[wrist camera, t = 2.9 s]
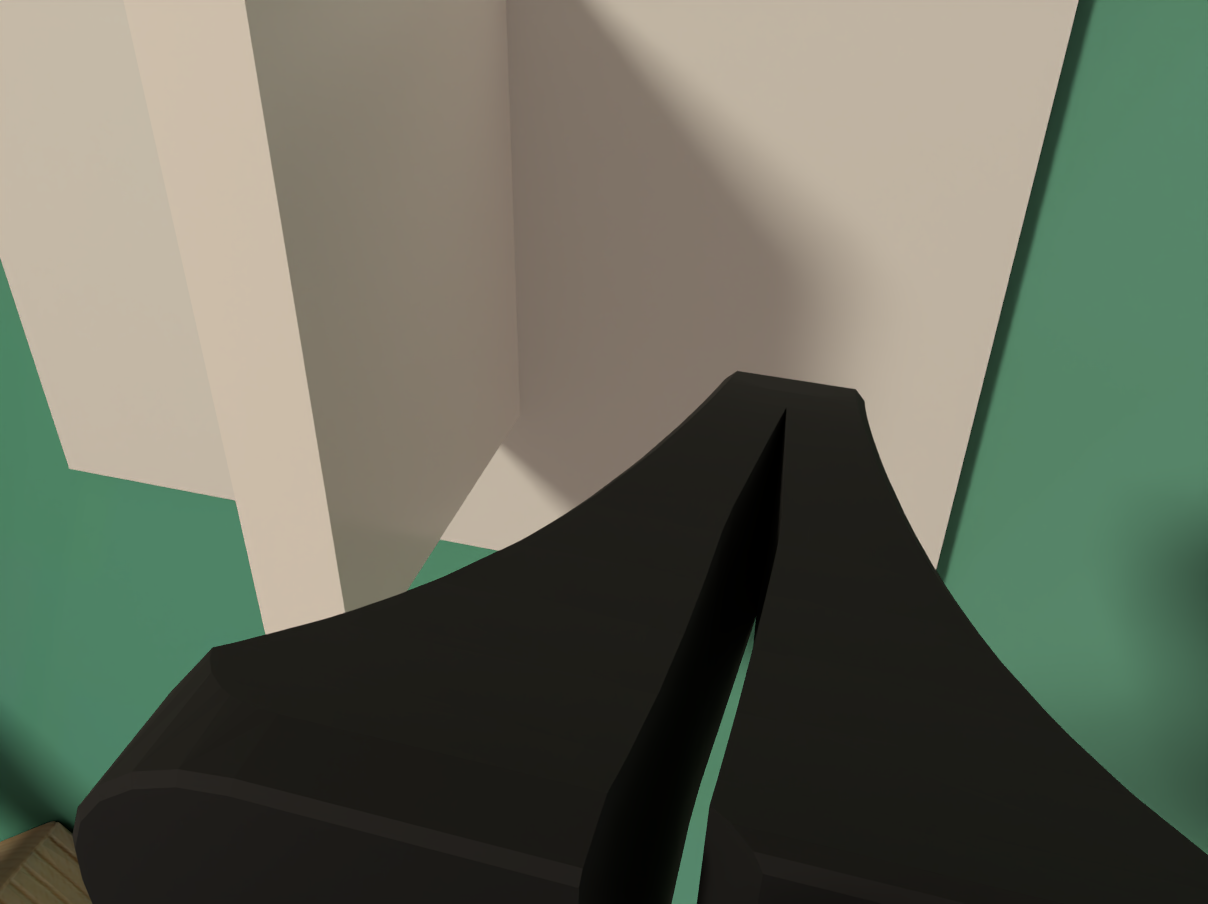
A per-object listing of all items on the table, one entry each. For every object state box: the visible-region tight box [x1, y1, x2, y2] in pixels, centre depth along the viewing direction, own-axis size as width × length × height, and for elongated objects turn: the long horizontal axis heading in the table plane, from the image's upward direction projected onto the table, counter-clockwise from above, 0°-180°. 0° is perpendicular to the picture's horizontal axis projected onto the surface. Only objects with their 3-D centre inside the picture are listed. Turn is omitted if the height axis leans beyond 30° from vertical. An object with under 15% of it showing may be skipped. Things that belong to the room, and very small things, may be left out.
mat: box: [0, 0, 1079, 569], centre depth 21 cm, size 22×18×1 cm
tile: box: [123, 0, 520, 634], centre depth 17 cm, size 2×10×8 cm, turn 178°
